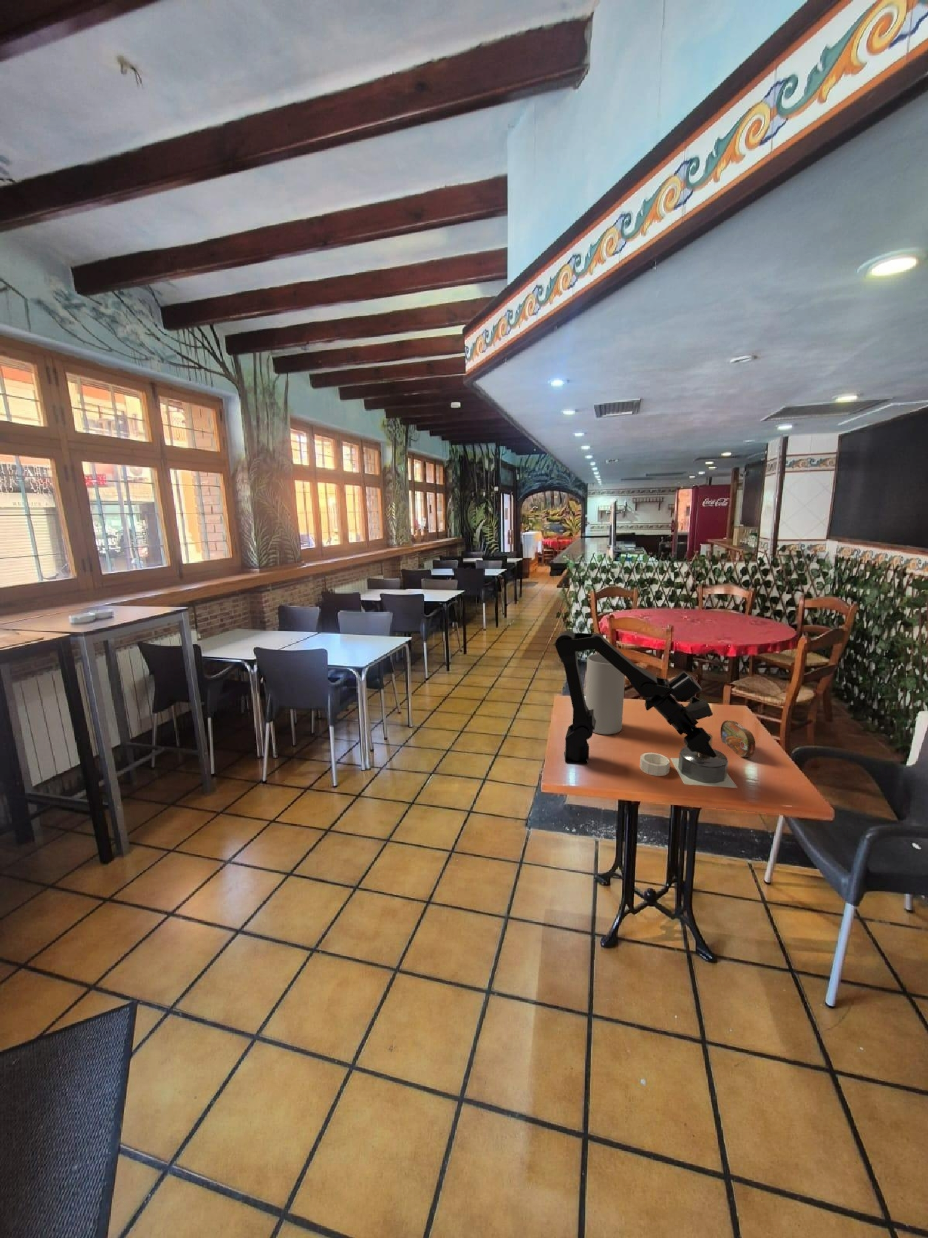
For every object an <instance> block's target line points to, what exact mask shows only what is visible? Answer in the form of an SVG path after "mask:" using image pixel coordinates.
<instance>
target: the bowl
mask: <svg viewBox="0 0 928 1238" xmlns="http://www.w3.org/2000/svg"><path fill="white" fill-rule="evenodd" d="M639 758H640V759H639V768H640V769H641V772H644V773H645V774H647V775H651V776H653V777H654V776H656V777H661V776H667V775H668V774H669V773H670V766H671V764H670V763H671V760H669V759H670V758H669V757H667V756H665V755H663V754H660V753H656V752H644V753H642V754H641V755H640V757H639Z"/></svg>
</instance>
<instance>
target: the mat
mask: <svg viewBox="0 0 928 1238" xmlns="http://www.w3.org/2000/svg"><path fill="white" fill-rule="evenodd" d="M669 759H670V762H671V763H672V764H673V767H674V768H675V770H676V771H677V773H678V775H679V777H680V780H681V781H682V782H683V784H684V785H691V786H706V787H717V788H718V787H719V788H733V789H735V788H736V789H738V786H737V785H736V783H735V782H734V781H733V779H732V777H731V776H730V775H729V774H728V773H727V775H726V778H725V780H724V781H722V782H719V783H702V782H699V781H696V780H692V779H690V778H688V777H686V776H685V775H683V774H682V773H681V772H680V770H679V768H678V765H679V757H670V758H669Z"/></svg>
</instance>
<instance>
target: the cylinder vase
mask: <svg viewBox="0 0 928 1238" xmlns="http://www.w3.org/2000/svg"><path fill="white" fill-rule="evenodd" d="M586 659H587V660H586V679H585V680H586V682H585V684H586V685H585V702H586V705H587V707H588V709H589V710H591V709H594V718H595V720H596V725H595V730H593V733H595V734H599V735H607V736H608V735H616V734H618V733H619V732H621V731H622V728H623V716H624V715H623V714H624V712H623V711H624V701H625V700H624V698H625V681H626V680H625V679H626V676H625V675H624V674H622V673H621V672H620V671H619V670H618V669H617V668H616V667H614V666H613V665H612V664H611V663H610V662H609V661H607V660H606V659H605V658H604V657H603V656H602V655H600V654H599V653H594V654H593V653H592V654H590V655H588V656H587V658H586Z"/></svg>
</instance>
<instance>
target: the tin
mask: <svg viewBox="0 0 928 1238" xmlns="http://www.w3.org/2000/svg"><path fill="white" fill-rule="evenodd" d="M719 732H720V738H721V742H722V743H724V744H725V745H726V746H728V748H730V749H731V750H732V751H733V752H734V753H735V754H736V755H738V756H739V757H740V758H750V757H753V755H754V753H755V749H756V739H755V736H754V735H753V733H752V732H751V731H750V730H748V729H747V728H746V727H744V726H743V725H741V724H740V723H739V722H737V721H734V720H724V721H723V722H722V724H721V727H720V731H719Z"/></svg>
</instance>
